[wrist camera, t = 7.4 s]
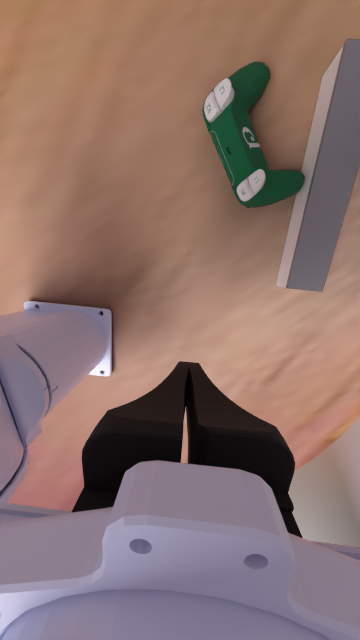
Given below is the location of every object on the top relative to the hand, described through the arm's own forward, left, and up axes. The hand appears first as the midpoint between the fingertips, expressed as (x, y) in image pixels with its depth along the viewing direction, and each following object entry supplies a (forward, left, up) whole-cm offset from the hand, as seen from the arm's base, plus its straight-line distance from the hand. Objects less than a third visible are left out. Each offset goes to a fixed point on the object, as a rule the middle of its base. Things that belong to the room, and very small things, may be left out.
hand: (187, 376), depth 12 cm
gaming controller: (+3, +16, -9) cm, 19 cm away
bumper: (+9, +14, -8) cm, 19 cm away
